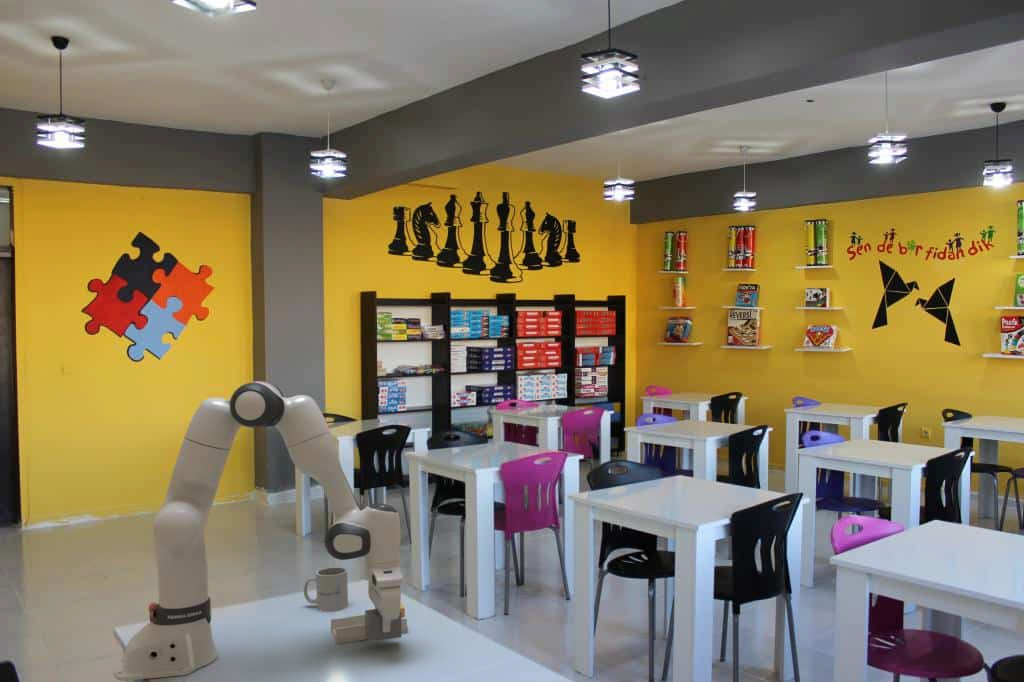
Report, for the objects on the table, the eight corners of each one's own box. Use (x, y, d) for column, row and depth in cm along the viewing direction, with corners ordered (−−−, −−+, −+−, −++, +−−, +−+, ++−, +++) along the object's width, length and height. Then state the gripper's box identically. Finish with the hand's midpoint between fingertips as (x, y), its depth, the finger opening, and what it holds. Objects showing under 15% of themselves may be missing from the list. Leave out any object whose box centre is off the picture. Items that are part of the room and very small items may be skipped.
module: (368, 641, 195) (368, 616, 195) (365, 634, 200) (364, 610, 200) (401, 637, 198) (401, 612, 198) (396, 630, 203) (396, 606, 203)
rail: (336, 643, 202) (336, 621, 202) (330, 630, 211) (330, 609, 211) (407, 632, 208) (407, 611, 208) (398, 620, 218) (398, 599, 218)
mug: (353, 602, 234) (351, 567, 234) (340, 612, 226) (338, 576, 226) (314, 600, 237) (313, 566, 237) (299, 610, 229) (298, 574, 229)
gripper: (362, 561, 208) (362, 615, 208) (378, 583, 189) (378, 642, 189) (386, 558, 210) (386, 612, 210) (404, 580, 191) (405, 639, 191)
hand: (383, 627), depth 199 cm, fingers closed on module, 5 cm apart
